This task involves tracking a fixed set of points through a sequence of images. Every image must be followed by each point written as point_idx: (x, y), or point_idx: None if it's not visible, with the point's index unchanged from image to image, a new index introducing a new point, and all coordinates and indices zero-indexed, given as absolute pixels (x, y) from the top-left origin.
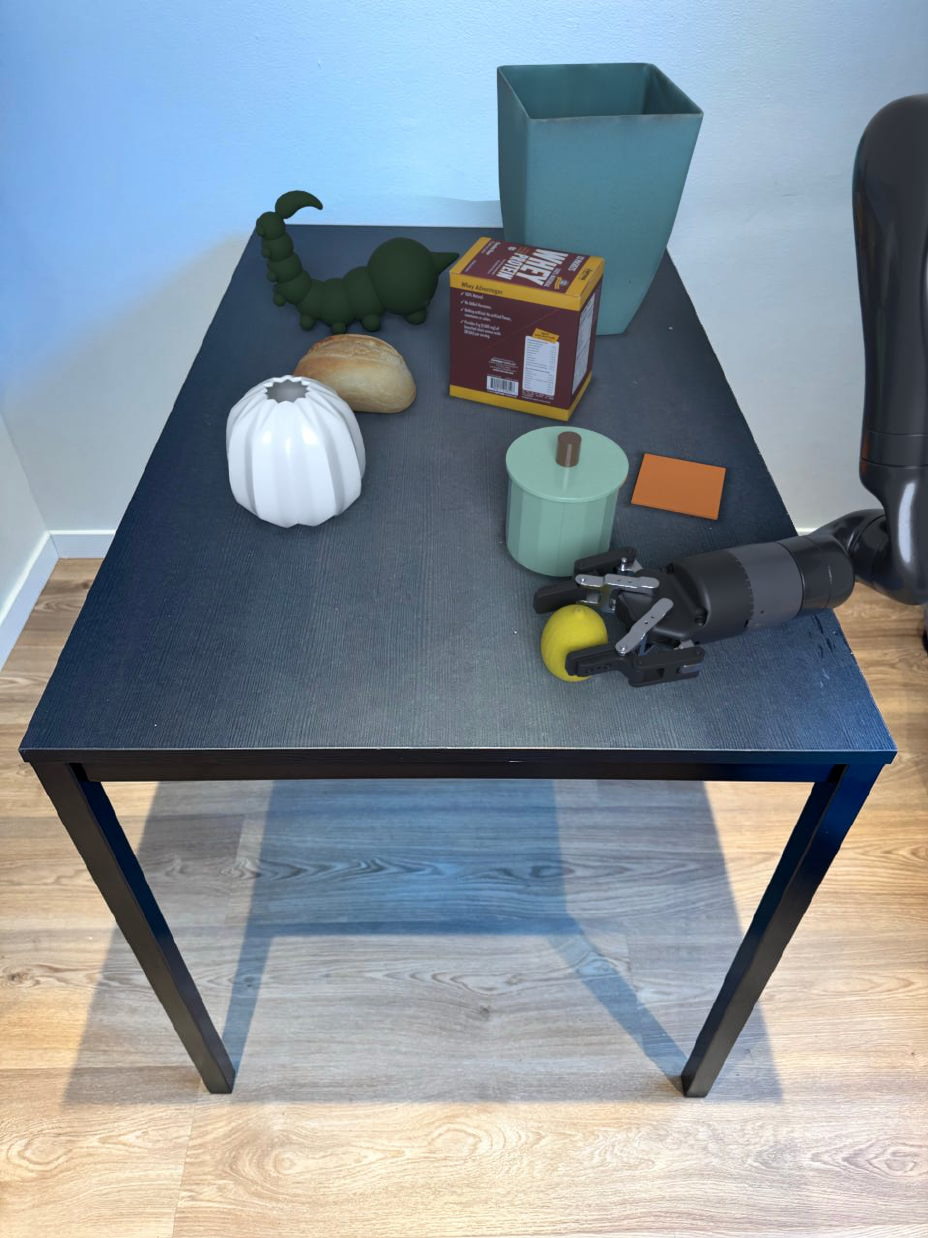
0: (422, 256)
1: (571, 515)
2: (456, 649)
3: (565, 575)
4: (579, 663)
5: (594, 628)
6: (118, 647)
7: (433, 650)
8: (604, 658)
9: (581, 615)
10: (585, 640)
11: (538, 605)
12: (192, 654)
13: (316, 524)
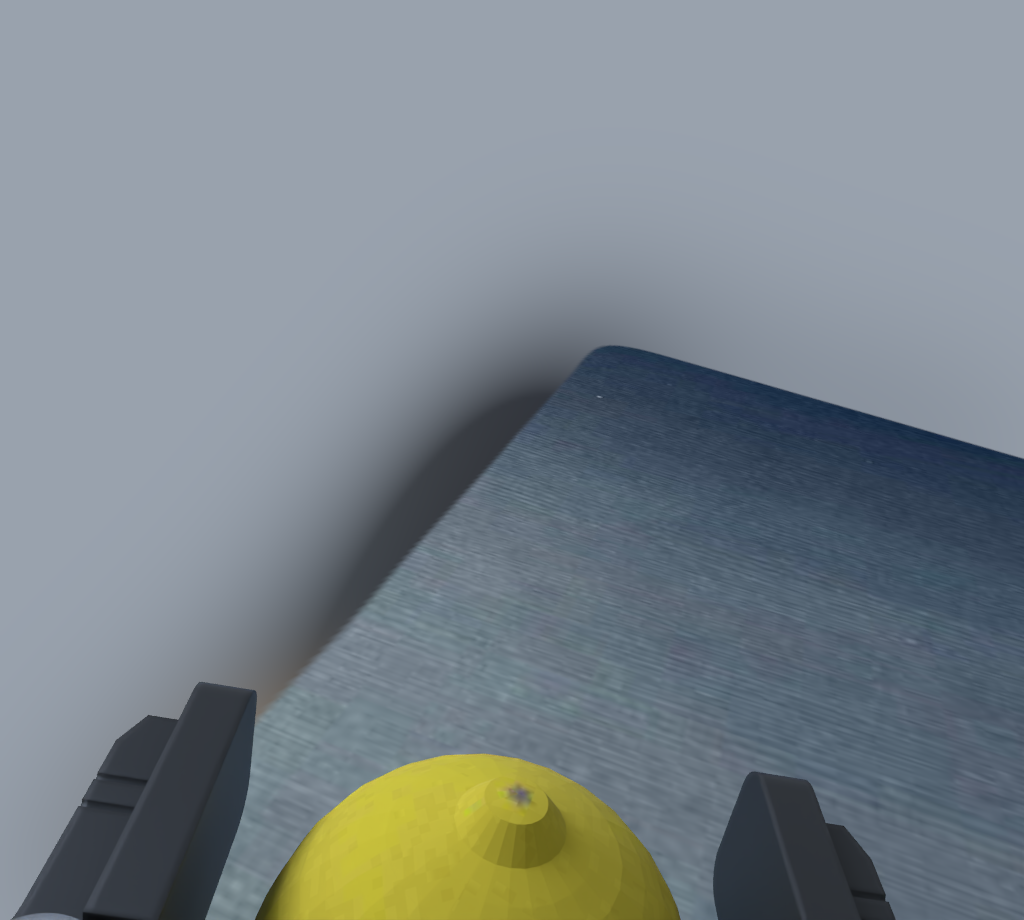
0: None
1: None
2: (710, 824)
3: None
4: (160, 724)
5: (363, 911)
6: (787, 413)
7: (716, 764)
8: (80, 859)
9: (472, 798)
10: (312, 848)
11: (732, 825)
12: (761, 455)
13: None
